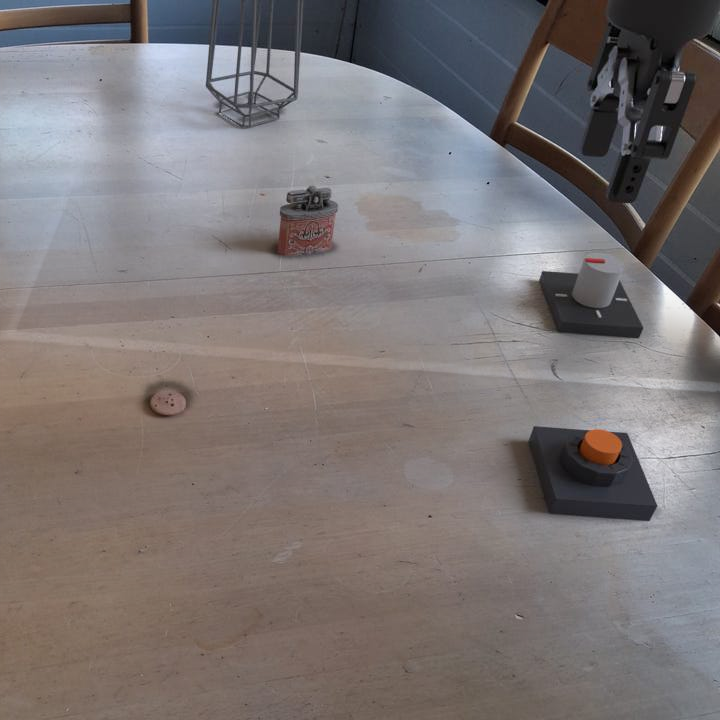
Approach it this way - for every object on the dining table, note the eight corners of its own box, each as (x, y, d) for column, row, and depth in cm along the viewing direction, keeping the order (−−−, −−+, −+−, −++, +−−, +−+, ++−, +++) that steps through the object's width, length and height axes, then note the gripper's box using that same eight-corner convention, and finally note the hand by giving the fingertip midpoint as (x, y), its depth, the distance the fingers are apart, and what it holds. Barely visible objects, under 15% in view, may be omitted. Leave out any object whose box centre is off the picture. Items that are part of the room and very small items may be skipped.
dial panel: (610, 296, 120) (618, 275, 118) (635, 348, 112) (644, 326, 109) (535, 290, 120) (542, 269, 118) (554, 342, 111) (562, 320, 109)
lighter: (324, 248, 125) (334, 179, 118) (335, 260, 123) (345, 190, 116) (271, 256, 123) (277, 186, 116) (281, 268, 120) (288, 198, 114)
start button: (610, 443, 92) (616, 430, 91) (620, 467, 89) (626, 454, 88) (575, 440, 92) (581, 427, 91) (584, 464, 89) (589, 451, 88)
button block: (620, 448, 97) (633, 419, 95) (649, 521, 89) (664, 492, 87) (528, 441, 97) (538, 412, 94) (549, 514, 89) (561, 485, 86)
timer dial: (605, 289, 116) (619, 251, 112) (614, 309, 112) (630, 271, 108) (567, 286, 115) (581, 249, 112) (576, 306, 112) (590, 269, 108)
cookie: (152, 419, 96) (152, 411, 95) (147, 395, 99) (147, 388, 98) (188, 416, 97) (188, 408, 96) (183, 392, 100) (183, 385, 99)
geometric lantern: (260, 94, 165) (276, -134, 141) (312, 125, 156) (339, -113, 132) (187, 109, 158) (190, -129, 134) (237, 143, 149) (251, -106, 125)
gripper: (775, -14, 57) (678, 221, 69) (700, -69, 68) (626, 143, 79) (658, -21, 57) (579, 215, 69) (601, -75, 68) (541, 138, 79)
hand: (604, 176), depth 74 cm, fingers open, 8 cm apart
